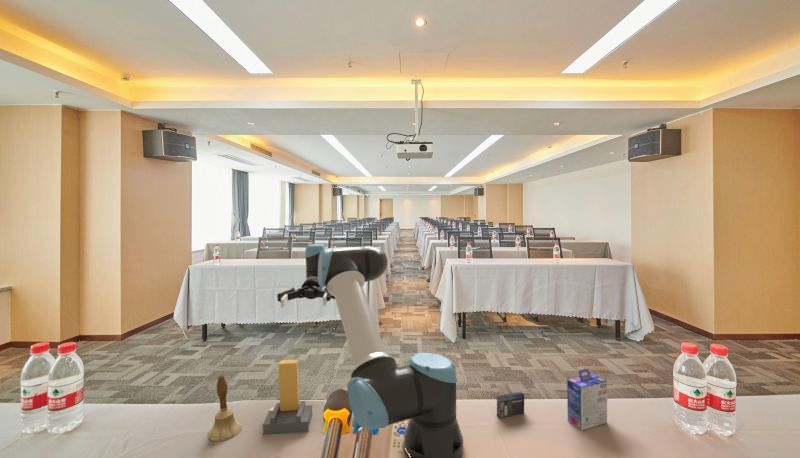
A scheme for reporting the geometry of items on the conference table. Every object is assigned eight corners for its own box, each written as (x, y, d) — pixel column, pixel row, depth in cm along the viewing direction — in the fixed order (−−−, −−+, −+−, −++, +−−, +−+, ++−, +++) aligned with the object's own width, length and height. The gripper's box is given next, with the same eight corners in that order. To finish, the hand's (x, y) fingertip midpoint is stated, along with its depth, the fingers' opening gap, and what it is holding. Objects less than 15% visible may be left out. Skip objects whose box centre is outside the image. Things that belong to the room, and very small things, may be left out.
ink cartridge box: (591, 412, 106) (592, 364, 105) (608, 423, 100) (609, 373, 99) (565, 419, 102) (566, 370, 101) (581, 431, 97) (582, 379, 96)
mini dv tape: (499, 418, 103) (499, 398, 103) (496, 415, 105) (496, 396, 104) (524, 413, 106) (524, 394, 105) (521, 410, 107) (521, 391, 107)
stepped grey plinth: (312, 414, 106) (311, 400, 106) (308, 431, 98) (307, 416, 98) (270, 417, 105) (270, 402, 105) (263, 435, 97) (262, 419, 97)
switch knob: (299, 405, 105) (298, 359, 104) (298, 410, 103) (296, 363, 102) (282, 406, 105) (280, 360, 104) (280, 411, 103) (278, 364, 102)
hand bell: (228, 443, 94) (225, 384, 93) (201, 439, 96) (197, 382, 95) (247, 424, 102) (245, 370, 101) (222, 421, 104) (219, 367, 103)
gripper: (345, 295, 141) (341, 311, 120) (279, 298, 138) (264, 315, 117) (344, 276, 140) (341, 289, 119) (279, 279, 138) (263, 292, 117)
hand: (303, 302), depth 118 cm, fingers open, 13 cm apart
